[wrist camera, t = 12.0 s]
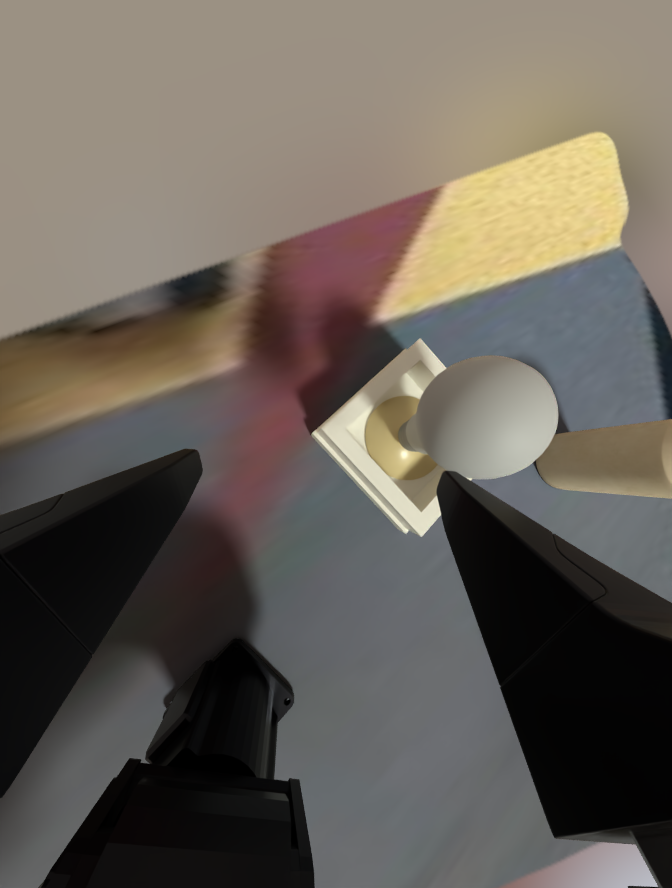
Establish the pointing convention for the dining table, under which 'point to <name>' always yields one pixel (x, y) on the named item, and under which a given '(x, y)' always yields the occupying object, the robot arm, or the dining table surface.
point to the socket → (388, 441)
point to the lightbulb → (483, 418)
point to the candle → (612, 460)
